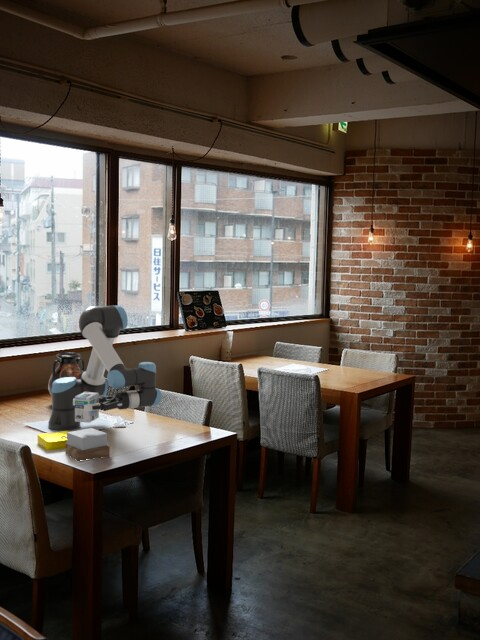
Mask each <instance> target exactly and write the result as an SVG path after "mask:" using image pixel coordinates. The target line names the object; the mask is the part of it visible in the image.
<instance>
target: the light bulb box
mask: <svg viewBox="0 0 480 640" xmlns="http://www.w3.org/2000/svg"><path fill="white" fill-rule="evenodd" d="M96 403H99V393H94V392H83V393H81V394H79V395H77V396H75V422H80V423H85V424H86V423H87V424H90V423H92V422H93V421H95V420H97V419H99V418H100V415H99V414H100V410H95V411H86V412H84V405H87V404H96Z"/></svg>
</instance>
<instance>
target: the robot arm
mask: <svg viewBox="0 0 480 640" xmlns="http://www.w3.org/2000/svg"><path fill="white" fill-rule="evenodd" d="M128 319H129V318H128V316H127V312H126V309H124V308H123V307H122V306H121V305H114V304H112V305H103V306H102V305H100V306H99V305H97V306H95V305H94V306H89V307H87V308H85V309H84V310H83V311H82V312H81V314H80V316H79V319H78V328H79V331H80V333H81V335H82V337H83V338H85V339H87V340H88V342H89V343H90V346H92V349H91V354H90V357H89V361H88V364H87V368H86V370H84V373H83V374H82V376H81V379H78V380H77V379H76V378H75V377H64V378H60V379H57V380H55V381H54V382H53V384H52V396H51V414H50V417H49V419H48V422H47V423H48V426H47V427H48V428H49V429H51V430H55V431H70V430H75V429H78V428H80V427H81V422H75V396H77V395H79V394H81V393H83V392H94V393H99V403H96V404H87V405H84V412H86V411H95V410H99V411H103V412H106V411H110V410H115V409H118V410H120V411H121V410H127V409H131V410H134V409H135V408H145V407H153V406H155V407H156V406H158V405H160V404H161V402H162V399H163V397H162V392H161V390H160V389H159V388H157V386H156V381H157V380H156V379H157V366H156V364H155V363H154V362H151V361H142V362H139V363H138V367H132V368H127V367H126V366H125V364H124V363H123V361H122V359H121V358H120V355H119V354H118V353H117V351H116V349H115V348H114V346H113V345H114V341H115V339H116V338H118V337H119V336H120V334H121V333H120V332H121V331H124V330H126V329H127V327H128V323H129V322H128V321H129V320H128ZM105 371H107V375H106V377H105V376H104V375H105ZM108 386H109V387H110V388H112V389H118V388H119V389H121V388H126V387H133V386H134V387H136V386H138V389H137V390H136V389H134V390H127V391H118V392H117V393H116V394H115V396H113V395H110V394H109V395H107V393H108Z"/></svg>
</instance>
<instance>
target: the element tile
mask: <svg viewBox="0 0 480 640" xmlns="http://www.w3.org/2000/svg"><path fill="white" fill-rule="evenodd" d="M67 432H71V431H70V430H60V431H54V432H53V431H52V432H46V433H45V432H44V433H38V435H37V445H39V446H40V447H41V448H43V450H45V451H48V452H53V451H58V450H65V443H67Z"/></svg>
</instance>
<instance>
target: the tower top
mask: <svg viewBox="0 0 480 640" xmlns="http://www.w3.org/2000/svg"><path fill="white" fill-rule="evenodd" d="M67 444H68V445H70V446H73V447H75V448H78V449H81V450H86V449H91V448H96V447H101V446H106V445H108V433H107V432H104V431H101V430H99V429H95V428H92V427H90V428H83V429H78V430H72V431H70V432H67Z"/></svg>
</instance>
